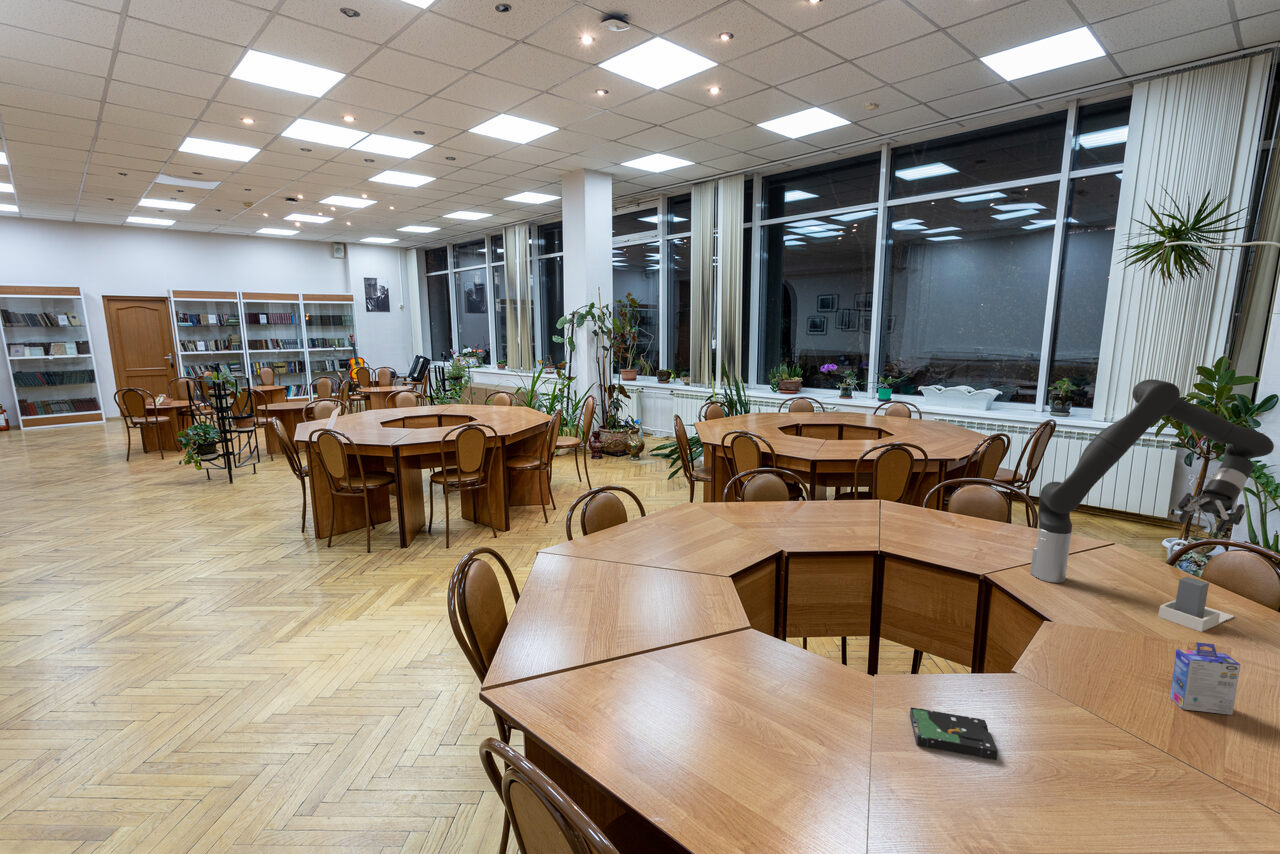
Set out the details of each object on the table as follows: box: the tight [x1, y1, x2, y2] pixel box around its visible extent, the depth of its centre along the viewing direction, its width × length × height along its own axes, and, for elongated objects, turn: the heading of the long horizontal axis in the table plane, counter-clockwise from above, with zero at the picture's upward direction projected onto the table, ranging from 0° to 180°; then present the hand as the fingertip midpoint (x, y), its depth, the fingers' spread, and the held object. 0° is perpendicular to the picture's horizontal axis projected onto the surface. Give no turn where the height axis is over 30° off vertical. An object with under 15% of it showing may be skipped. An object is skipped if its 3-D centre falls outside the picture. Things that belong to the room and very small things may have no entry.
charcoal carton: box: [1175, 576, 1210, 619], centre depth 178 cm, size 5×5×12 cm
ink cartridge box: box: [1169, 641, 1242, 716], centre depth 137 cm, size 10×6×14 cm, turn 78°
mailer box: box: [1157, 599, 1235, 633], centre depth 181 cm, size 10×20×4 cm, turn 117°
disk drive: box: [909, 707, 998, 761], centre depth 127 cm, size 10×3×15 cm
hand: (1199, 526), depth 182 cm, fingers open, 8 cm apart
